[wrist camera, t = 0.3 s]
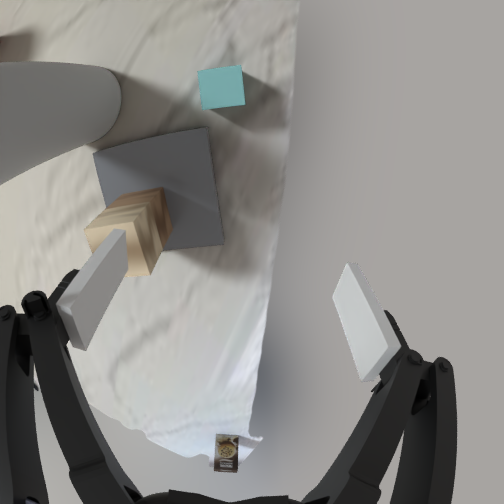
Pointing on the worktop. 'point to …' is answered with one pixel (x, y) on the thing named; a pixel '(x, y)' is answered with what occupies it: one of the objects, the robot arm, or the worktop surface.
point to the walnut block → (158, 208)
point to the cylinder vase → (52, 111)
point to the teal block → (221, 87)
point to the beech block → (130, 235)
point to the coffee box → (226, 453)
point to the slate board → (169, 182)
